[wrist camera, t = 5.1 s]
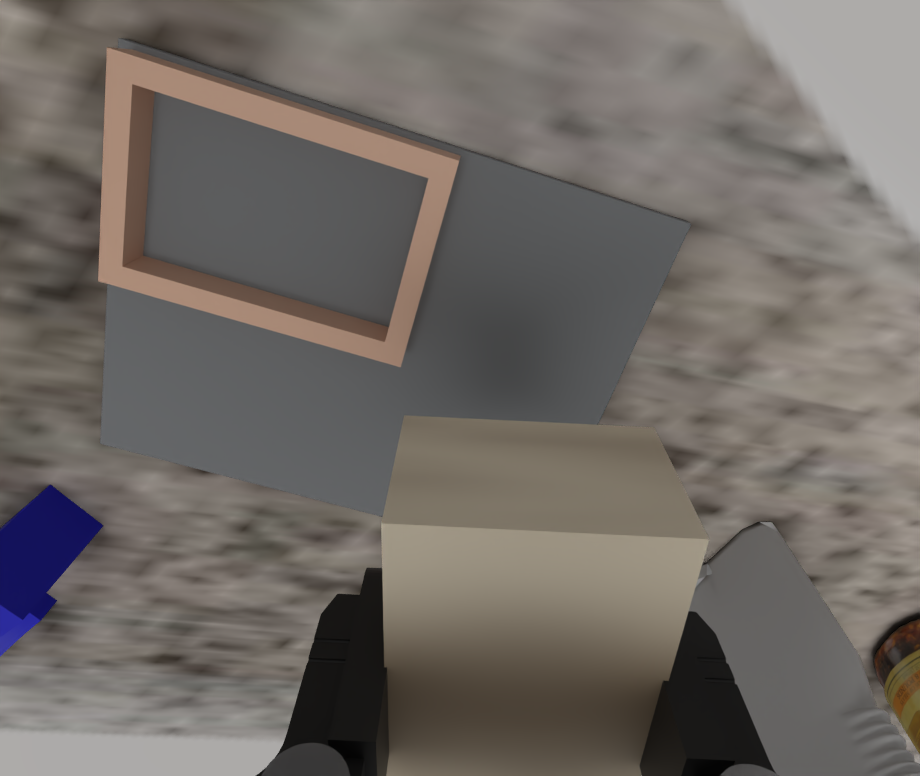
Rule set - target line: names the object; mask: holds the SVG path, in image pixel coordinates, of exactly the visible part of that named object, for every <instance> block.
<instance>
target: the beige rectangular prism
mask: <svg viewBox="0 0 920 776" xmlns="http://www.w3.org/2000/svg"><path fill="white" fill-rule="evenodd" d="M381 533H382V582H383V631H384V667H387V680H388V727H389V758H388V766H387V774H386V776H641V770H640V762H641V758H642V755H643V751H644V748H645V744H646V740H647V737H648V733H649V730H650V726H651V722H652V719H653V715H654V712H655V708H656V704H657V701H658V697H659V694H660V690H661V686H662V683H663V681H669V678H670V674H671V671H672V667H673V664H674V660H675V657H676V653H677V650H678V646H679V643H680V639H681V636H682V633H683V629H684V626H685V622H686V619H687V615H688V612H689V608H690V605H691V601H692V598H693V594H694V591H695V587H696V584H697V581H698V577H699V574H700V570H701V567H702V563H703V560H704V556H705V553H706V549H707V546H708V542H709V538H708V536H707V534H706V532H705V530H704V528H703V526H702V524H701V522H700V520H699V517H698V515H697V513H696V511H695V509H694V507H693V505H692V503H691V501H690V499H689V497H688V495H687V493H686V491H685V489H684V487H683V485H682V483H681V481H680V479H679V477H678V475H677V473H676V471H675V469H674V467H673V465H672V463H671V461H670V459H669V457H668V455H667V453H666V451H665V449H664V447H663V445H662V443H661V441H660V439H659V437H658V435H657V433H656V431H655V429H654V427H635V426H615V425H594V424H573V423H552V422H532V421H511V420H490V419H470V418H449V417H428V416H408V415H404V418H403V423H402V428H401V433H400V437H399V442H398V447H397V451H396V456H395V461H394V466H393V470H392V475H391V480H390V485H389V489H388V494H387V499H386V504H385V508H384V513H383V518H382V522H381Z"/></svg>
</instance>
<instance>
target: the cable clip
mask: <svg viewBox="0 0 920 776" xmlns="http://www.w3.org/2000/svg"><path fill="white" fill-rule="evenodd" d="M102 527H103V525H102V524H101V523H99V522H98V521H97V520H96V519H94V518H93V517H92V516H90V515H89V514H88V513H87V512H85V511H84V510H83V509H81V508H80V507H79V506H77V505H76V504H75V503H74V502H72V501H71V500H70V499H68V498H67V497H66V496H65V495H63V494H62V493H61V492H59V491H58V490H57V489H56V488H54V487H53V486H52V485H49V486H48V487H47V488H46V489H45V490H44V491H42V492H41V493H40V494H39V495H38V496H37V497H36V498H34V499H33V500H32V501H31V502H30V503H29V504H28V505H26V506H25V507H24V508H23V509H22V510H21V511H20V512H18V513H17V514H16V515H15V516H14V517H13V518H12V519H10V520H9V521H8V522H7V523H6V524H5V525H4V526H2V527H1V528H0V656H1V655H2V654H3V653H4V652H5V651H6V650H7V649H9V648H10V647H11V646H12V645H13V644H14V643H15V642H16V641H17V640H18V639H19V638H21V637H22V636H23V635H24V634H25V633H26V632H27V631H29V630H30V629H31V628H32V627H33V626H35V625H36V624H37V623H38V622H39V621H41V620H42V618H43V617H44V616H45V615H46V613H47V612H48V611H49V610H50V609H51V607H52V606H53V605H54V604H55V603H56V601H57V600H56V599H54V598H53V597H51V596H50V595H48V594H47V593H46V592H47V591H48V590H49V589H50V588H51V587H52V585H53V584H54V583H55V582H56V581H57V580H58V578H59V577H60V576H61V575H62V574H63V573H64V571H65V570H66V569H67V568H68V567H69V566H70V564H71V563H72V562H73V561H74V560H75V558H76V557H77V556H78V555H79V554H80V553H81V551H82V550H83V549H84V548H85V547H86V546H87V544H88V543H89V542H90V541H91V540H92V539H93V537H94V536H95V535H96V534H97V533H98V531H99V530H100V529H101V528H102Z"/></svg>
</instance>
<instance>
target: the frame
mask: <svg viewBox="0 0 920 776" xmlns="http://www.w3.org/2000/svg"><path fill="white" fill-rule="evenodd" d="M155 92H159V93H162V94H165V95H168V96H171V97H174V98H177V99H181V100H184V101H187V102H190V103H193V104H196V105H199V106H203V107H206V108H209V109H212V110H215V111H218V112H221V113H225V114H228V115H231V116H234V117H237V118H240V119H243V120H247V121H250V122H253V123H256V124H259V125H262V126H265V127H269V128H272V129H275V130H278V131H281V132H284V133H287V134H291V135H294V136H297V137H300V138H303V139H306V140H309V141H313V142H316V143H319V144H322V145H325V146H328V147H331V148H335V149H338V150H341V151H344V152H347V153H350V154H353V155H357V156H360V157H363V158H366V159H369V160H372V161H375V162H379V163H382V164H385V165H388V166H391V167H394V168H397V169H401V170H404V171H407V172H410V173H413V174H416V175H419V176H423V177H426V178H429V179H428V182H427V186H426V190H425V194H424V197H423V201H422V205H421V209H420V212H419V216H418V220H417V224H416V227H415V231H414V235H413V239H412V242H411V246H410V250H409V254H408V257H407V261H406V265H405V269H404V272H403V276H402V280H401V284H400V287H399V291H398V295H397V299H396V302H395V306H394V310H393V314H392V318H391V321H390V325H389V327H387V326H383V325H380V324H376V323H373V322H369V321H366V320H362V319H359V318H356V317H352V316H349V315H345V314H342V313H338V312H335V311H332V310H328V309H325V308H321V307H318V306H314V305H311V304H308V303H304V302H301V301H297V300H294V299H290V298H287V297H283V296H280V295H277V294H273V293H270V292H266V291H263V290H259V289H256V288H253V287H249V286H246V285H242V284H239V283H235V282H232V281H229V280H225V279H222V278H218V277H215V276H211V275H208V274H205V273H201V272H198V271H194V270H191V269H187V268H184V267H180V266H177V265H174V264H170V263H167V262H163V261H160V260H156V259H153V258H150V257H146V256H143V250H144V236H145V222H146V208H147V193H148V179H149V165H150V151H151V136H152V122H153V108H154V93H155ZM460 157H461V156H460V155H457V154H454V153H451V152H448V151H444V150H441V149H438V148H435V147H432V146H429V145H426V144H423V143H420V142H417V141H414V140H410V139H407V138H404V137H401V136H398V135H395V134H392V133H389V132H386V131H383V130H380V129H377V128H373V127H370V126H367V125H364V124H361V123H358V122H355V121H352V120H349V119H346V118H343V117H339V116H336V115H333V114H330V113H327V112H324V111H321V110H318V109H315V108H312V107H309V106H305V105H302V104H299V103H296V102H293V101H290V100H287V99H284V98H281V97H278V96H275V95H271V94H268V93H265V92H262V91H259V90H256V89H253V88H250V87H247V86H244V85H241V84H238V83H234V82H231V81H228V80H225V79H222V78H219V77H216V76H213V75H210V74H207V73H204V72H200V71H197V70H194V69H191V68H188V67H185V66H182V65H179V64H176V63H173V62H170V61H166V60H163V59H160V58H157V57H154V56H151V55H148V54H145V53H142V52H139V51H136V50H132V49H121V48H109V47H107V61H106V87H105V114H104V141H103V167H102V194H101V221H100V247H99V274H98V281H100V282H103V283H107V284H110V285H114V286H117V287H121V288H124V289H128V290H131V291H135V292H138V293H142V294H145V295H149V296H152V297H156V298H159V299H163V300H166V301H170V302H173V303H177V304H180V305H184V306H187V307H191V308H194V309H198V310H201V311H205V312H208V313H212V314H215V315H219V316H222V317H226V318H229V319H233V320H236V321H240V322H243V323H247V324H250V325H254V326H257V327H261V328H264V329H268V330H271V331H275V332H278V333H282V334H286V335H289V336H293V337H296V338H300V339H303V340H307V341H310V342H314V343H317V344H321V345H324V346H328V347H331V348H335V349H338V350H342V351H345V352H349V353H352V354H356V355H359V356H363V357H366V358H370V359H373V360H377V361H380V362H384V363H387V364H391V365H394V366H398V367H401V364H402V361H403V357H404V354H405V350H406V347H407V343H408V340H409V336H410V333H411V329H412V326H413V322H414V319H415V315H416V312H417V308H418V304H419V301H420V297H421V294H422V290H423V287H424V283H425V280H426V276H427V273H428V269H429V266H430V262H431V259H432V255H433V252H434V248H435V245H436V241H437V238H438V234H439V231H440V227H441V224H442V220H443V217H444V213H445V210H446V206H447V203H448V199H449V196H450V192H451V188H452V185H453V181H454V178H455V174H456V171H457V167H458V164H459V160H460Z"/></svg>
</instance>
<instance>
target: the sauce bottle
mask: <svg viewBox="0 0 920 776" xmlns="http://www.w3.org/2000/svg"><path fill="white" fill-rule="evenodd" d="M874 658H875V661H874V665H875V668H876V672H877V677H878V679H879V682H880V683H881V685H882V686H883V687H884V692H885V697H886V700H887V702H888V703H889V705H890V707H891V708H892V710H893V711H894V713H895V715H896V716H897V718H898V720H899V721H900V723H901V725H902V726H903V728H904V729H905V731H906V733H907V734H908V736H909V738H910V739H911V741H912V743H913V744H914V746H915V747H916V749H917V751H918V752H919V754H920V619H918V620H916V621H910V622H909V623H908V624H906V625H903V626H900V627H899V628H898V629H897V630H896V631H895V632H894V633H892V634H891V635H890V637H889V638H888V639H887V640H886V641H885V642H884V643H883V645H882V646H881V648H880V649H879V650H877V652H876V655H875V657H874Z"/></svg>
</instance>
